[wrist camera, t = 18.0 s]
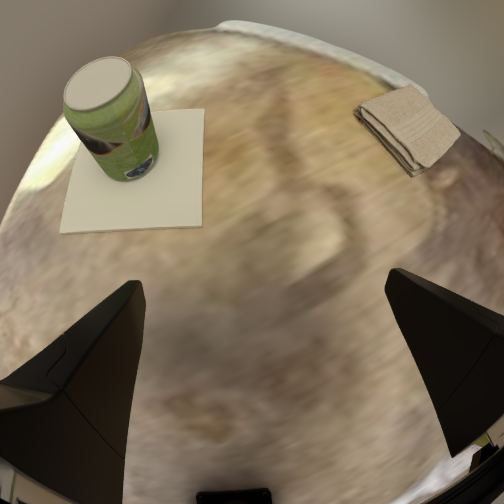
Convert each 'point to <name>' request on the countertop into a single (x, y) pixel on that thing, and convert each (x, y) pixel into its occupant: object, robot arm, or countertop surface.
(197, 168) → the cream mat
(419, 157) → the washcloth
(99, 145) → the beverage can
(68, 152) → the countertop surface
